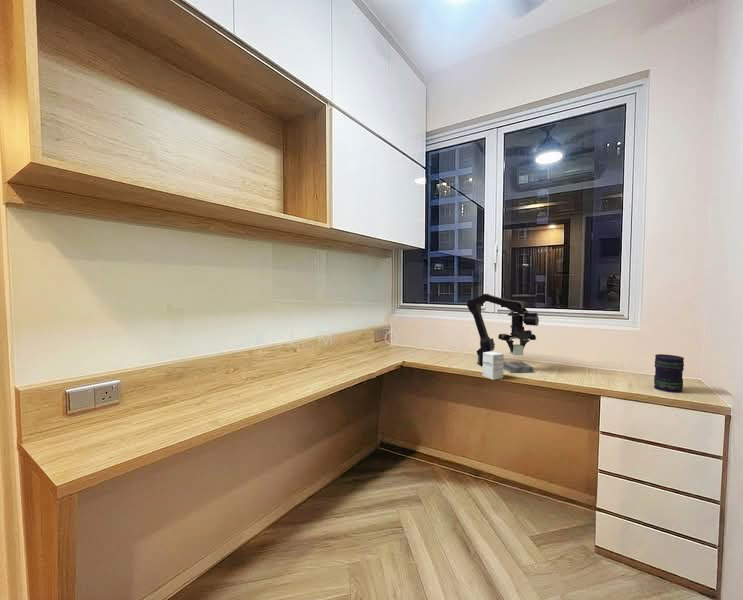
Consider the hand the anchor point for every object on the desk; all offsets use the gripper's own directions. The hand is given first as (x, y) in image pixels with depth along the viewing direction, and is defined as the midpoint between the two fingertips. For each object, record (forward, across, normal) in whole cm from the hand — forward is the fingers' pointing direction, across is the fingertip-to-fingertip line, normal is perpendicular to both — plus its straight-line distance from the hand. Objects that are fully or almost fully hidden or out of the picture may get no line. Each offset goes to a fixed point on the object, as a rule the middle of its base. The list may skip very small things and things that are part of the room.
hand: (516, 352), depth 186 cm
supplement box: (+10, -19, -13) cm, 25 cm away
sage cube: (+1, 0, 0) cm, 1 cm away
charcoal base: (+10, 0, 0) cm, 10 cm away
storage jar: (+10, +51, -38) cm, 64 cm away
